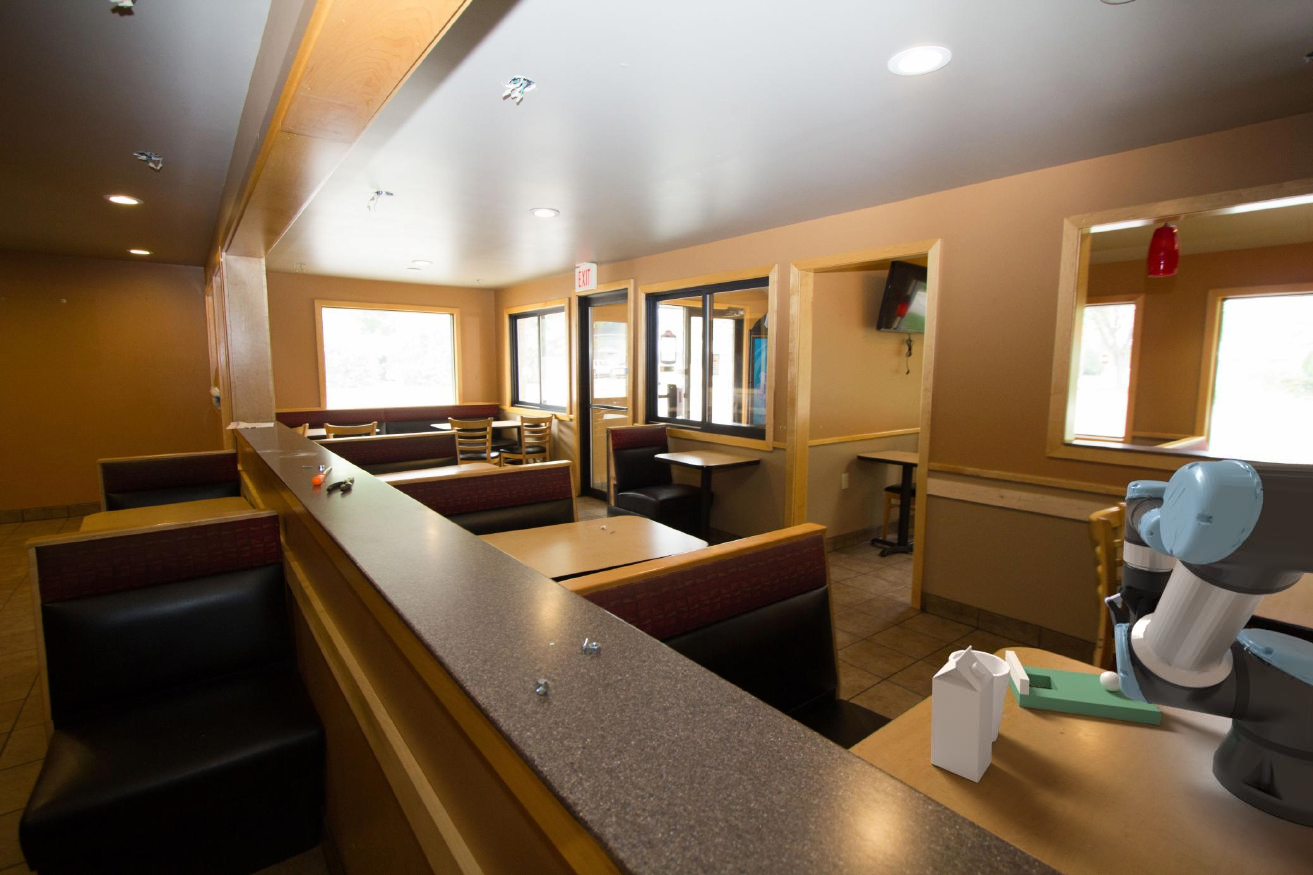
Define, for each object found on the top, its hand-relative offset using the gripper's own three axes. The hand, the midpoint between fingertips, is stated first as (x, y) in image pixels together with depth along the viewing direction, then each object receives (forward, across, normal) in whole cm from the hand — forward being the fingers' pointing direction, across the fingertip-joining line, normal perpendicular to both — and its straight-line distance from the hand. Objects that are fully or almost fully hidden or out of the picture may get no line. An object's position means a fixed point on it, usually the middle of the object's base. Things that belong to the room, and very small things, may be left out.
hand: (1141, 686), depth 111 cm
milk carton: (+4, +34, +28) cm, 44 cm away
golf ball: (+1, +5, 0) cm, 5 cm away
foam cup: (+4, +30, +18) cm, 35 cm away
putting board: (+4, +10, 0) cm, 11 cm away
